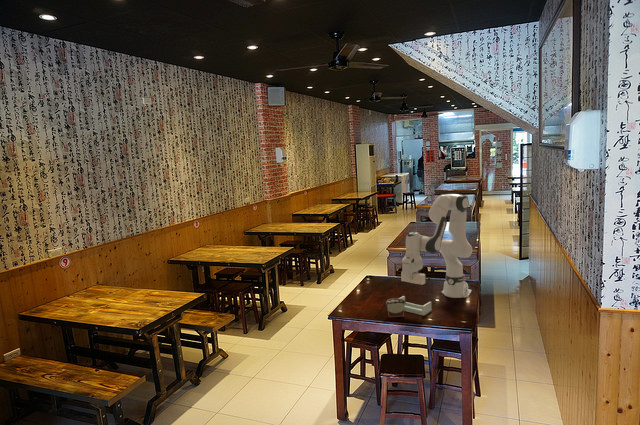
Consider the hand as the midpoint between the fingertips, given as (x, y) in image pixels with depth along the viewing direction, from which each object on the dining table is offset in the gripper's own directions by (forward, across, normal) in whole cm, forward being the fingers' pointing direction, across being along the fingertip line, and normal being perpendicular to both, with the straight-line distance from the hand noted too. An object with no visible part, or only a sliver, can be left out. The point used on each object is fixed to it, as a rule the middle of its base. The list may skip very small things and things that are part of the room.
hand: (413, 278), depth 273 cm
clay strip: (+2, 0, 0) cm, 2 cm away
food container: (+21, +14, -5) cm, 26 cm away
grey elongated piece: (+21, 0, 0) cm, 21 cm away
